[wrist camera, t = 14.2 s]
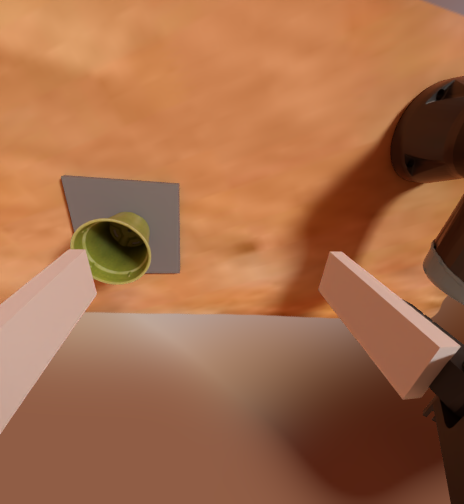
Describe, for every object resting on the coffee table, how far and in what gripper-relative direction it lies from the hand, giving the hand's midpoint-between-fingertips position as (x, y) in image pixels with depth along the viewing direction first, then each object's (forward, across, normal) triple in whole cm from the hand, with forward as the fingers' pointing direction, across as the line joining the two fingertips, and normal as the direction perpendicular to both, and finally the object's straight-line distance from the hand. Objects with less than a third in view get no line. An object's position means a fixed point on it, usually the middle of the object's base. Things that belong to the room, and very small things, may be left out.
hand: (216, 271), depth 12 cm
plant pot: (+24, +12, +7) cm, 28 cm away
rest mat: (+25, +13, +8) cm, 29 cm away
